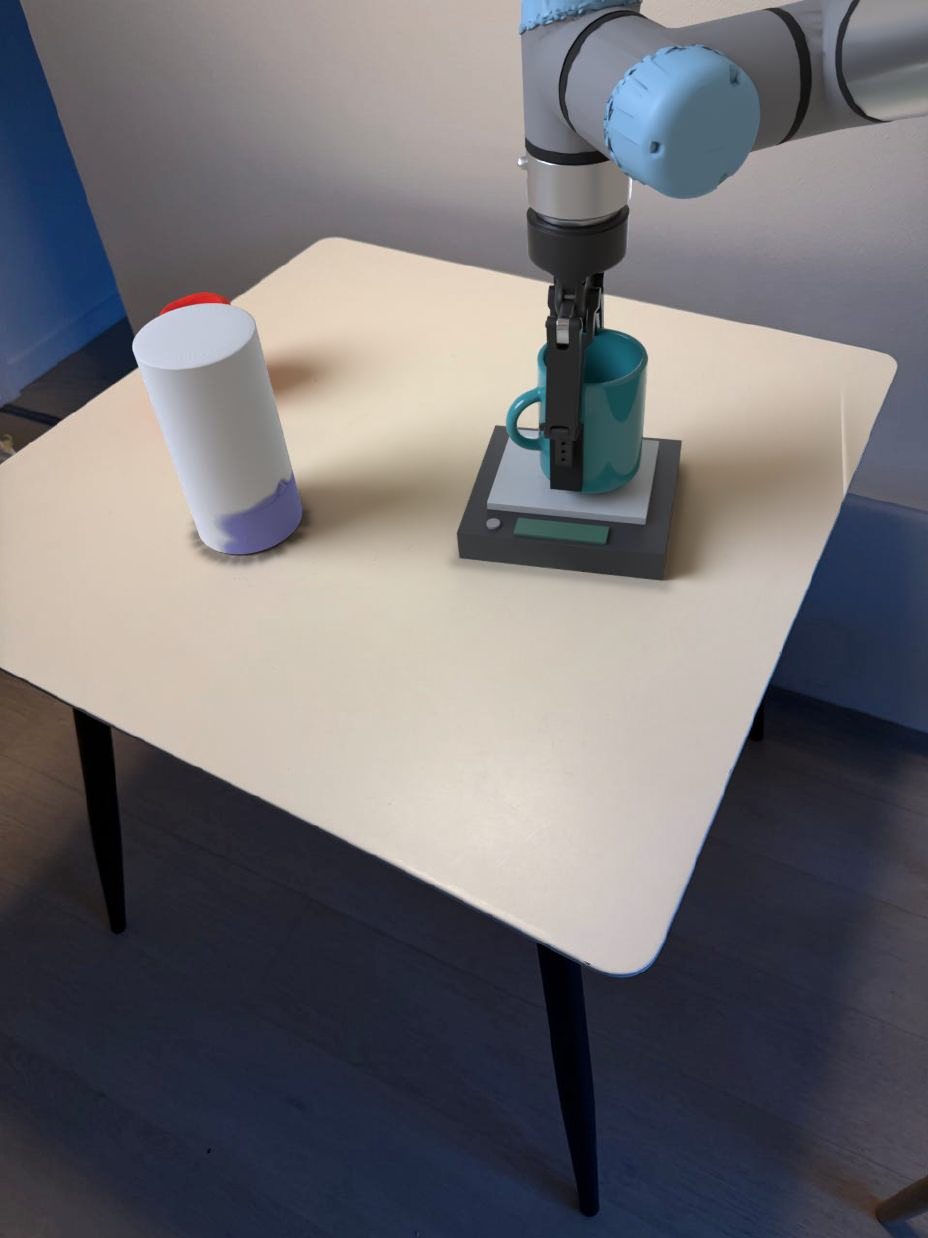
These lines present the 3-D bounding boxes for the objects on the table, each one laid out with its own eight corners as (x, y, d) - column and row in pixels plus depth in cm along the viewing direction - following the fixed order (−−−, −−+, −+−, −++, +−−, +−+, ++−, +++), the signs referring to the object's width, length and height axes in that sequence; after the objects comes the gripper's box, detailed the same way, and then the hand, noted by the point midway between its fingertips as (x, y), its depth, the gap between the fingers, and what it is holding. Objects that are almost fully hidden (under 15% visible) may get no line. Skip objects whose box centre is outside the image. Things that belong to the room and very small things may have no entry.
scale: (679, 465, 95) (682, 432, 92) (662, 580, 85) (665, 548, 82) (496, 449, 99) (494, 417, 96) (459, 558, 89) (455, 526, 86)
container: (238, 477, 99) (181, 292, 85) (322, 500, 96) (279, 312, 81) (177, 540, 93) (105, 353, 79) (264, 567, 90) (206, 376, 75)
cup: (497, 451, 91) (491, 342, 83) (623, 428, 92) (628, 319, 84) (520, 512, 85) (516, 401, 77) (654, 486, 86) (663, 375, 78)
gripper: (552, 142, 80) (554, 381, 96) (495, 275, 66) (509, 529, 82) (646, 144, 78) (632, 387, 95) (608, 280, 64) (599, 538, 80)
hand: (575, 453), depth 88 cm, fingers closed on cup, 9 cm apart
